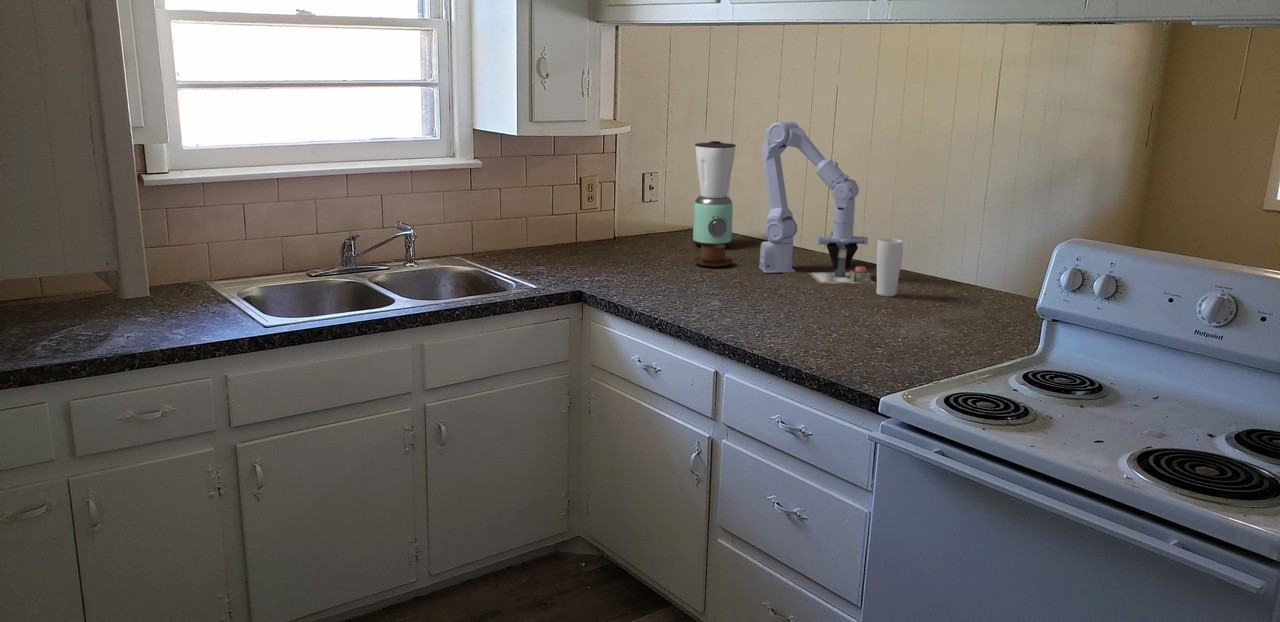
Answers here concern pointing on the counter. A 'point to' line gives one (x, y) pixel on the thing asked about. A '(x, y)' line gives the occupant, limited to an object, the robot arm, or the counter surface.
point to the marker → (841, 262)
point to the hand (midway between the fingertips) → (840, 268)
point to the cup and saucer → (713, 256)
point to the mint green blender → (713, 194)
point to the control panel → (848, 278)
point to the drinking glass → (888, 266)
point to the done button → (860, 269)
